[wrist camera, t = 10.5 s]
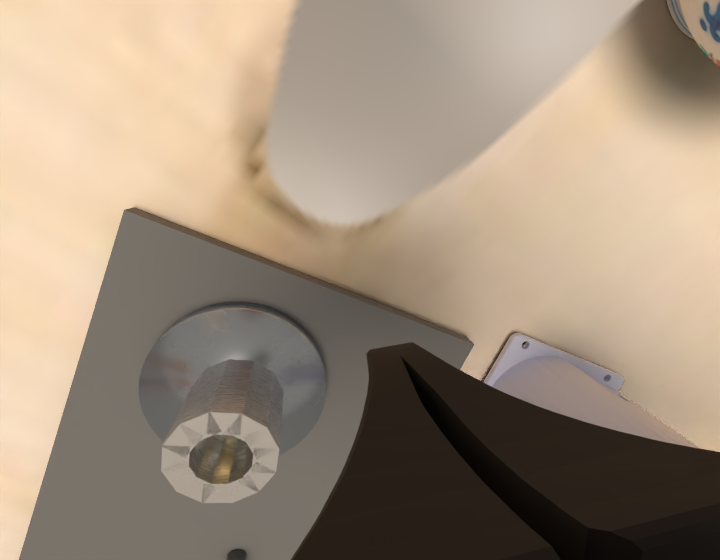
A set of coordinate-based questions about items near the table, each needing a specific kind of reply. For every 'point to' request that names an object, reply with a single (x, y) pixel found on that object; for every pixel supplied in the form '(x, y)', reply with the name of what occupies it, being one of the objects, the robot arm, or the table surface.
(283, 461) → the mat
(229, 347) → the hub
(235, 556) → the stand rod
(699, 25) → the chinaware
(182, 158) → the table surface
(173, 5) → the table surface
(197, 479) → the ridged pipe fitting
